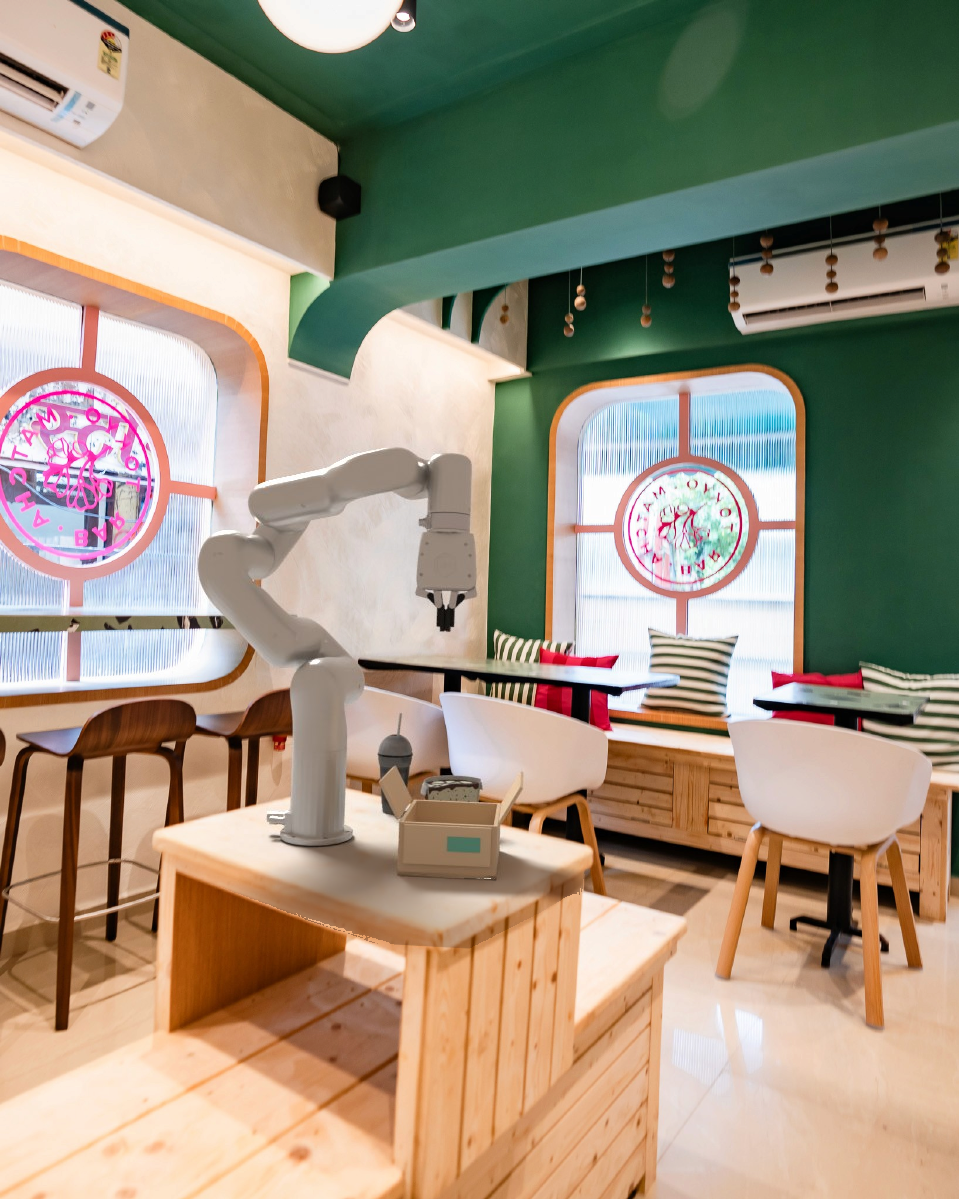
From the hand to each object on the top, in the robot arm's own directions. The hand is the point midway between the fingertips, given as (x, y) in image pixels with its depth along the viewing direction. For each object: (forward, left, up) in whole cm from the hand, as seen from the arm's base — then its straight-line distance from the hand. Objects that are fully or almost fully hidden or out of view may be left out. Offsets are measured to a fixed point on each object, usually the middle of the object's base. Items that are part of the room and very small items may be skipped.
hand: (445, 631), depth 138 cm
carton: (+3, -8, -37) cm, 38 cm away
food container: (0, +10, -37) cm, 39 cm away
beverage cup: (-12, +25, -37) cm, 46 cm away
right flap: (+12, -8, -26) cm, 30 cm away
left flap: (-6, -8, -26) cm, 28 cm away
